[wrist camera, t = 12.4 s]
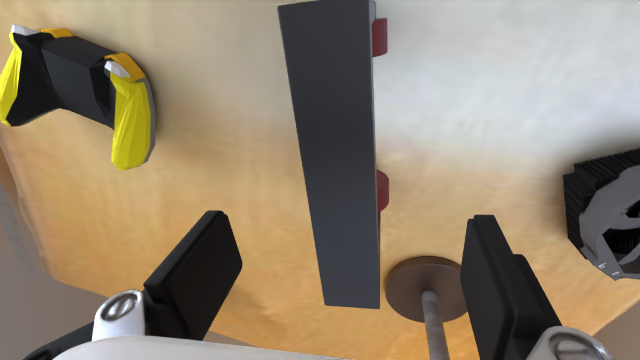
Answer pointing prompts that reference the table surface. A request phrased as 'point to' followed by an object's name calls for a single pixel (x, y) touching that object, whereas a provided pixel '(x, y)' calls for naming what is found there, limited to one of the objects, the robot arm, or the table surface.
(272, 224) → the table surface
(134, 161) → the gaming controller
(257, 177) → the table surface
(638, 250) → the cpu cooler
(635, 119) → the table surface
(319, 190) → the headset
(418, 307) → the stand
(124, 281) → the table surface
